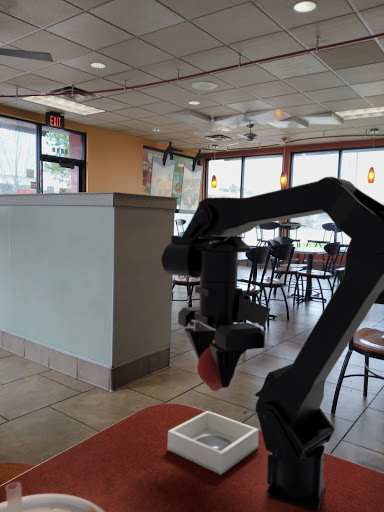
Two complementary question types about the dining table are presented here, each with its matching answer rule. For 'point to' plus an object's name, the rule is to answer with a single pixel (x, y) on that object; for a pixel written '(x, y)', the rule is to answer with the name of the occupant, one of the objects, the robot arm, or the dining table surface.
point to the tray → (213, 441)
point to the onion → (209, 370)
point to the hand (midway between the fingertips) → (215, 380)
